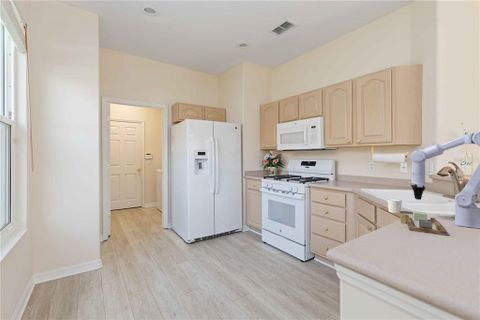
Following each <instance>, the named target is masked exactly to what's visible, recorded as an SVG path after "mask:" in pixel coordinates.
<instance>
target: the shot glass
mask: <svg viewBox="0 0 480 320" xmlns="http://www.w3.org/2000/svg"><path fill="white" fill-rule="evenodd" d="M402 202H403V201H402V200H401V199H396V198H388V199H387V207H388V212H389V213H392V214H401V210H402V204H403V203H402Z"/></svg>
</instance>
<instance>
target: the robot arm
mask: <svg viewBox="0 0 480 320" xmlns="http://www.w3.org/2000/svg"><path fill="white" fill-rule="evenodd" d="M466 144H467V145H470V144H471V145H472V144H473V145H475V144H476V145H477V146H479V147H480V130H478V131H475V132H471V133H468V134H465V135H461V136H459V137H457V138H455V139H452V140H450V141H447V142H445V143H442V144H439V143H435V144H434V143H431V144H429V146H427V147H425V148H419V150H415V151H412V152H411V154H410V155H409V158H410V160H411V181H410V180H409V181H408V184H409V183H410V184H411V185H410V187H411V188H412V190H413V196H414V199H415V200H416V201H417V200H419V201H421V200H422V197H423V195H424V192H425V190H426V189H427V188H426V186H425V185H426V160H429V159H433V158H436V157H437V156H441V155H443V154H444V152H445V151H447V150H448V151H449V150H450V149H454V148H456V147H459V146H463V145H466ZM479 193H480V162H479V163H478V165H477V166H476V168H475V170H474V171H473V173H472V174H471V176H470V177H469V180H468V182H467V183H466V185H465V186H464V187H463V188H462V190H461V191H460V192H459V193H457V194H456V195H455V196H454V202H455V204H454V207H455V208H454V220H452V221H451V222H452V223H453V224H454V225H455V226H457V227H463V228H465V227H467V228H473V229H480V207H478V205H477V204H476V203H477V201H478V194H479Z"/></svg>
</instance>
